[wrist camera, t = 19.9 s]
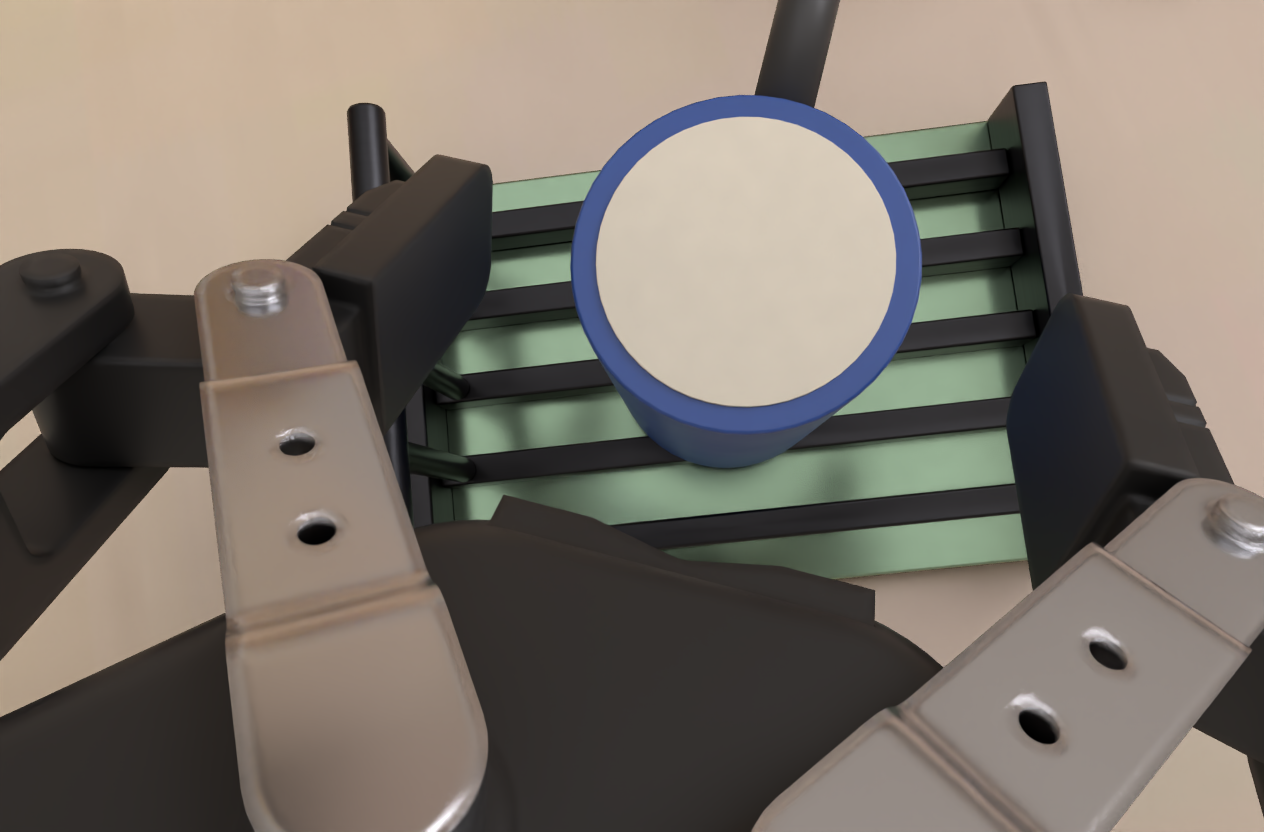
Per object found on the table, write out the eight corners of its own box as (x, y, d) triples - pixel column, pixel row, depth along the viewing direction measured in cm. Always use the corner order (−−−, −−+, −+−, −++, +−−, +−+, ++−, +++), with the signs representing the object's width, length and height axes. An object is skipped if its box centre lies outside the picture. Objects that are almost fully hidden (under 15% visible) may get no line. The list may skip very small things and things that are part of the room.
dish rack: (1010, 126, 23) (1153, -53, 16) (1081, 553, 21) (1272, 569, 14) (407, 202, 24) (283, 66, 17) (436, 616, 22) (316, 660, 15)
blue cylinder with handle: (902, 85, 21) (1026, -175, 13) (808, 492, 20) (881, 472, 12) (695, 44, 22) (694, -231, 14) (593, 438, 21) (530, 386, 13)
